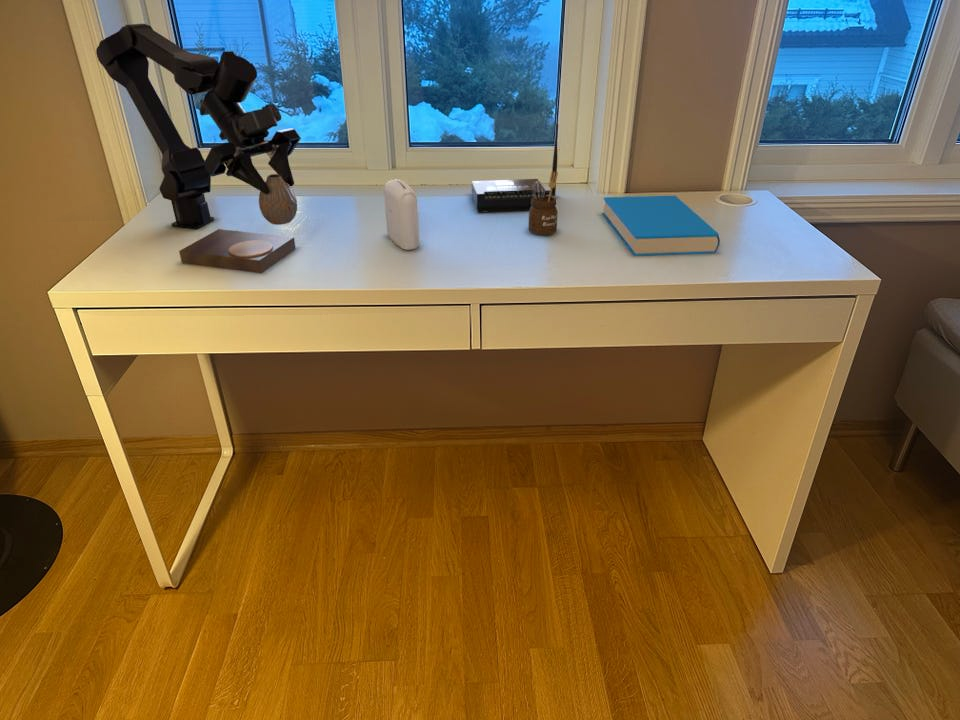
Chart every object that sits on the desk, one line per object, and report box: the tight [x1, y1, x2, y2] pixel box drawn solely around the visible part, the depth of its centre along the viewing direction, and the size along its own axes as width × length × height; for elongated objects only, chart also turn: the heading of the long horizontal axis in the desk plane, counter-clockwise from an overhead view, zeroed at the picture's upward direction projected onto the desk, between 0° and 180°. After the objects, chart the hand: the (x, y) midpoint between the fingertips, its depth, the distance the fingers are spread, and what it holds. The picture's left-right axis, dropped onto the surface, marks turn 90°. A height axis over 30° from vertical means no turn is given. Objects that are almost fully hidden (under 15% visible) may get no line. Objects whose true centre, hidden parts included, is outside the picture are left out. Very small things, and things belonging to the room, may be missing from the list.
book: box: [601, 195, 721, 257], centre depth 141 cm, size 17×4×25 cm
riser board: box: [178, 228, 297, 274], centre depth 130 cm, size 17×12×3 cm
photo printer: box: [383, 178, 420, 251], centre depth 134 cm, size 10×4×12 cm, turn 26°
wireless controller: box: [471, 123, 559, 214], centre depth 155 cm, size 20×14×17 cm
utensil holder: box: [528, 170, 559, 237], centre depth 139 cm, size 6×6×12 cm
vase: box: [258, 173, 298, 226], centre depth 127 cm, size 7×7×9 cm
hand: (280, 188), depth 125 cm, fingers closed on vase, 5 cm apart
